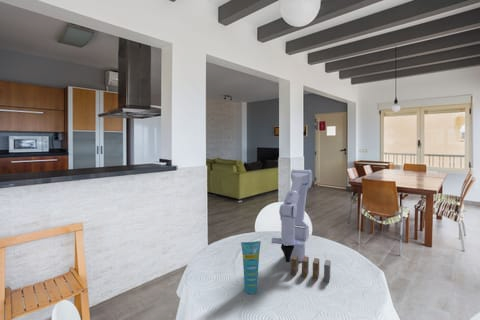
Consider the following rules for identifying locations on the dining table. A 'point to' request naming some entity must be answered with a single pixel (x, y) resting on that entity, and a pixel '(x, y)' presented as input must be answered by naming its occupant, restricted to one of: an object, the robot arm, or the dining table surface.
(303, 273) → the domino
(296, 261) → the domino
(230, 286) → the dining table surface
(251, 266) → the tube
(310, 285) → the dining table surface
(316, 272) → the domino
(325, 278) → the domino
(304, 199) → the robot arm
